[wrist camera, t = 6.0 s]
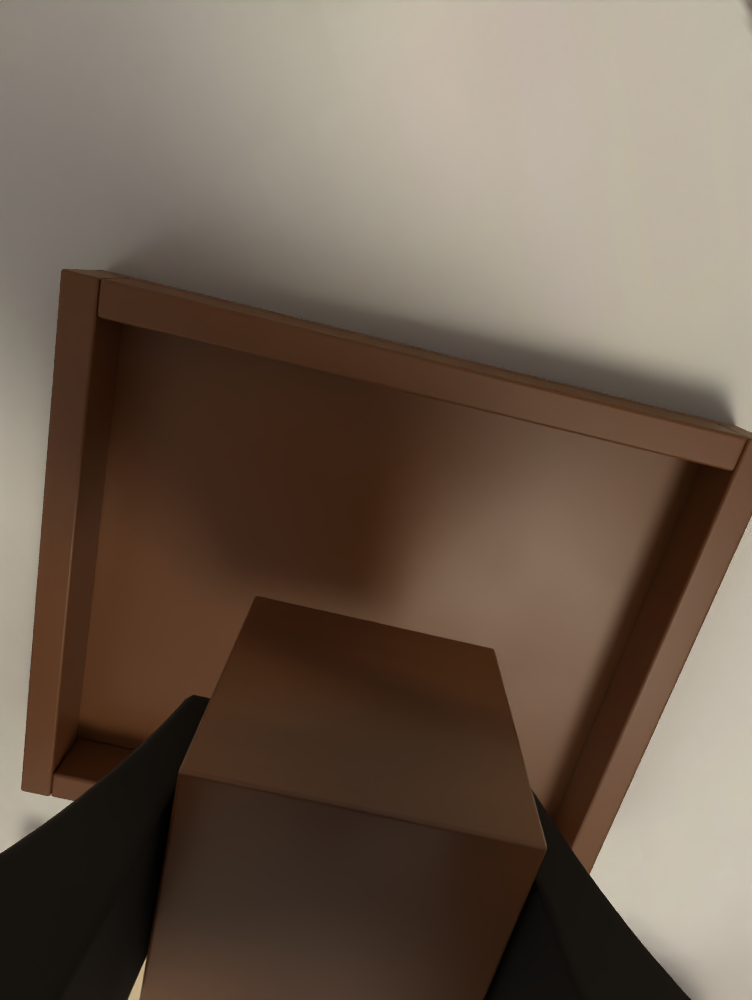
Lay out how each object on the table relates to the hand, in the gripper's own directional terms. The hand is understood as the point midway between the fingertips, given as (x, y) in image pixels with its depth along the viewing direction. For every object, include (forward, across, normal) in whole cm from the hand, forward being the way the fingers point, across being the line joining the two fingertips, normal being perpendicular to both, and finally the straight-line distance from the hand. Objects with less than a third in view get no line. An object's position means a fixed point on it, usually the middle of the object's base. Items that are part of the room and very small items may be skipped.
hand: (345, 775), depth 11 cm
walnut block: (+1, 0, 0) cm, 1 cm away
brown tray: (+7, 0, 0) cm, 7 cm away
